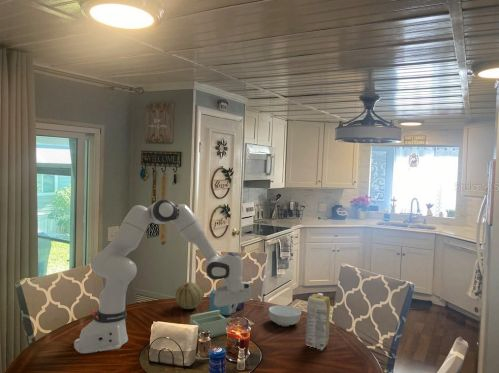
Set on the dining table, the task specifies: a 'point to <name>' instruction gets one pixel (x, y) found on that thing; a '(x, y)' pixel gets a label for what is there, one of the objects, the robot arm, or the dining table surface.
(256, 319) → the dining table surface
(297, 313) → the cereal bowl
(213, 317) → the box
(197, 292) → the cantaloupe
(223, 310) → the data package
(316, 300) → the juice carton
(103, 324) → the robot arm
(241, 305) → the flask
